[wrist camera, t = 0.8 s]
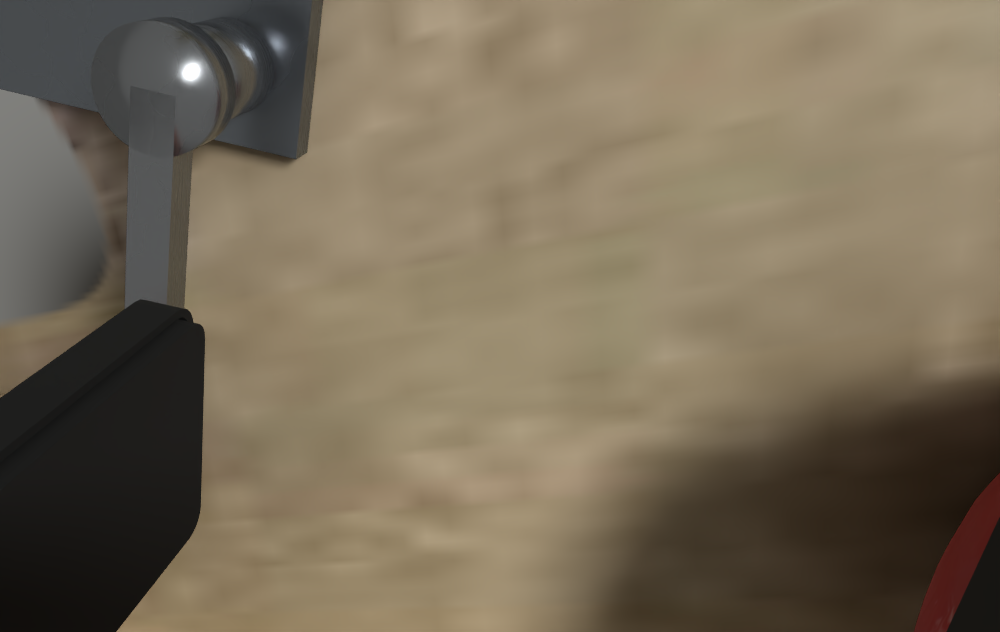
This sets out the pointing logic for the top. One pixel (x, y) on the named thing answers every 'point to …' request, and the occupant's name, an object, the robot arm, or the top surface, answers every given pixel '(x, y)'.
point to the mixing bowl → (960, 561)
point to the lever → (161, 138)
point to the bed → (205, 3)
